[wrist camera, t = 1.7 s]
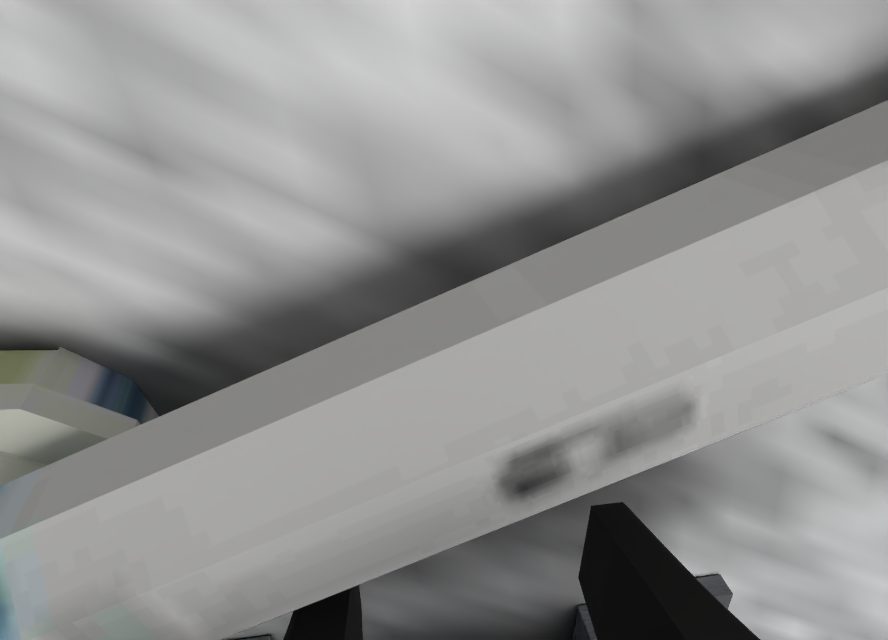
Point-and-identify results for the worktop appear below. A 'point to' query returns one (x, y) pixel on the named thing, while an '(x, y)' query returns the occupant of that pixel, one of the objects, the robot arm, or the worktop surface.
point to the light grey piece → (445, 407)
